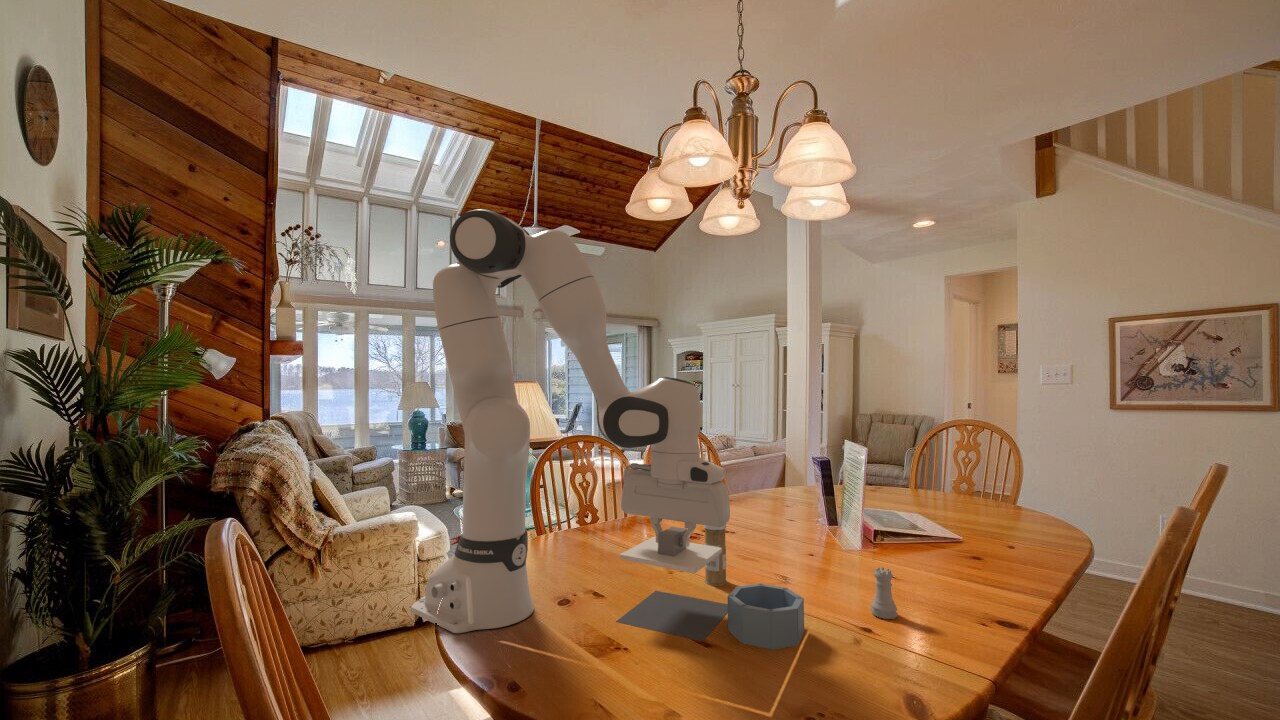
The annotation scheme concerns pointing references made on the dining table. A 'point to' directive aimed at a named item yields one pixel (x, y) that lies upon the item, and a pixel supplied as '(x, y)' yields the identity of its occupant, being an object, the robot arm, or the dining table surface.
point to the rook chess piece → (883, 595)
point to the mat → (676, 615)
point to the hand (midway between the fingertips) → (672, 544)
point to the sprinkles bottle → (718, 564)
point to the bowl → (766, 616)
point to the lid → (672, 552)
